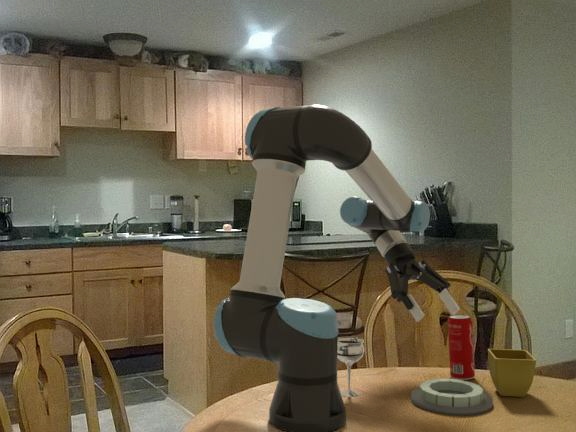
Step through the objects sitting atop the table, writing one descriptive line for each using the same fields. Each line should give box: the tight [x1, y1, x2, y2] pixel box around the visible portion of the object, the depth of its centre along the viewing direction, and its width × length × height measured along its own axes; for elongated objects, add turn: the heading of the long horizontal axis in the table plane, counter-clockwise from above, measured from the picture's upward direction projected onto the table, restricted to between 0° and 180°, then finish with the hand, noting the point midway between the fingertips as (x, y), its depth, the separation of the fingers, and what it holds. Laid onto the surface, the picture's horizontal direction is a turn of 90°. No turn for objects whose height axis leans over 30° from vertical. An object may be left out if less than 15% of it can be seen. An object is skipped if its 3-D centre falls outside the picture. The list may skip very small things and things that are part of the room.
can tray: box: [410, 378, 493, 416], centre depth 143 cm, size 17×17×3 cm
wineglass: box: [337, 336, 365, 398], centre depth 148 cm, size 7×7×12 cm
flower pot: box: [487, 348, 537, 398], centre depth 149 cm, size 9×9×9 cm
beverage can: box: [447, 314, 476, 381], centre depth 161 cm, size 6×6×15 cm
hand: (439, 315), depth 167 cm, fingers open, 13 cm apart
